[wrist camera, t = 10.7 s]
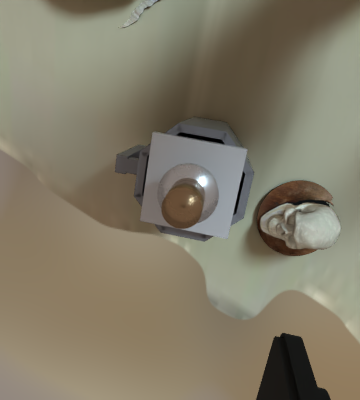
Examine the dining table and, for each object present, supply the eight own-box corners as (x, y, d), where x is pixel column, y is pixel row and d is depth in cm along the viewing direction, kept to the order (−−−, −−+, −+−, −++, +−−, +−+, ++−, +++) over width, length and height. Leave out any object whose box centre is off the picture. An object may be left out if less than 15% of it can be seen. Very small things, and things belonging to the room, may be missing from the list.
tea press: (250, 126, 50) (263, 139, 32) (233, 201, 54) (236, 251, 35) (151, 108, 51) (109, 111, 33) (140, 183, 55) (98, 223, 37)
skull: (255, 262, 55) (260, 239, 46) (255, 203, 59) (259, 172, 50) (335, 266, 53) (357, 243, 44) (329, 205, 57) (347, 173, 48)
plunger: (237, 137, 47) (246, 167, 25) (225, 195, 50) (223, 268, 28) (177, 126, 48) (136, 146, 26) (168, 184, 50) (122, 247, 28)
